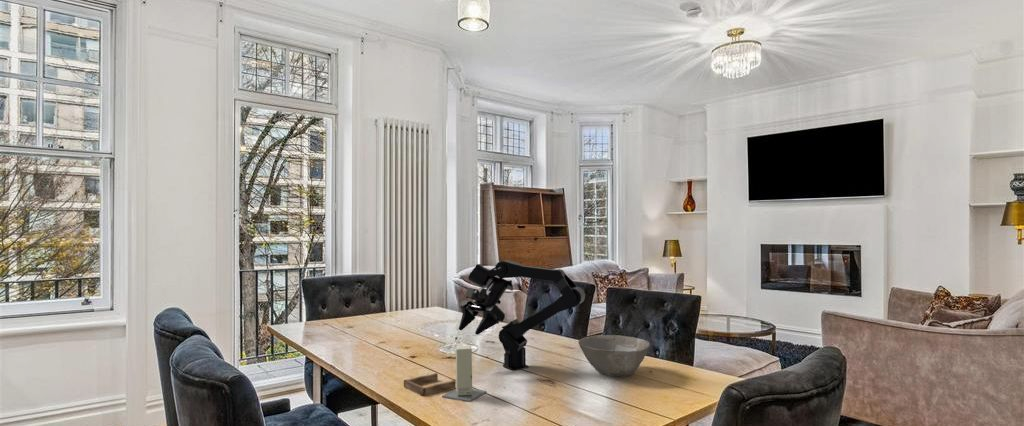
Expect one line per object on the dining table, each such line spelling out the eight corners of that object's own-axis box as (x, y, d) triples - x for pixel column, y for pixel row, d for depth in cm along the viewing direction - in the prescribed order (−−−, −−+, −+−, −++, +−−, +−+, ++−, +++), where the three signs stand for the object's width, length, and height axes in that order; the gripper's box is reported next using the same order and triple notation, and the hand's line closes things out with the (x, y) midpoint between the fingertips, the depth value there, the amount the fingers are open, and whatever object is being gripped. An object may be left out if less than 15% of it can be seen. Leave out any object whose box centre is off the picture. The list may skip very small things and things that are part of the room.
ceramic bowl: (622, 389, 150) (622, 354, 150) (564, 372, 167) (563, 341, 168) (665, 374, 165) (665, 342, 165) (607, 360, 182) (607, 331, 182)
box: (472, 395, 145) (472, 348, 145) (456, 396, 144) (456, 349, 144) (471, 389, 150) (470, 344, 150) (455, 390, 149) (455, 345, 149)
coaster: (459, 388, 153) (459, 386, 153) (486, 392, 148) (486, 390, 148) (442, 397, 145) (442, 395, 145) (469, 402, 140) (469, 400, 140)
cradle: (435, 379, 161) (435, 373, 161) (455, 387, 153) (455, 381, 153) (403, 386, 154) (403, 380, 154) (422, 396, 146) (422, 388, 146)
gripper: (463, 276, 180) (436, 313, 173) (496, 280, 165) (469, 320, 158) (482, 296, 185) (457, 333, 178) (516, 301, 170) (490, 341, 163)
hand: (467, 331), depth 169 cm, fingers open, 9 cm apart
